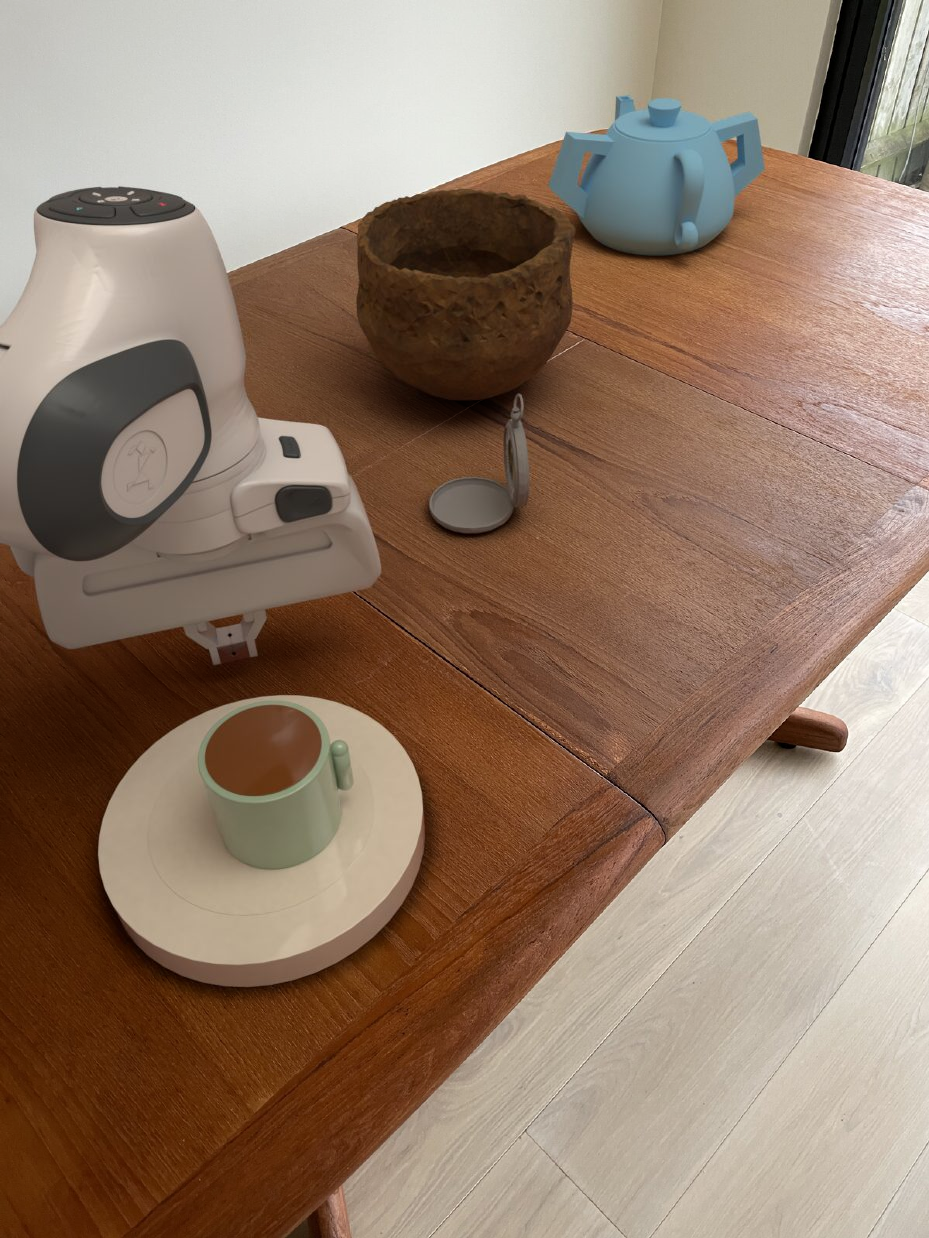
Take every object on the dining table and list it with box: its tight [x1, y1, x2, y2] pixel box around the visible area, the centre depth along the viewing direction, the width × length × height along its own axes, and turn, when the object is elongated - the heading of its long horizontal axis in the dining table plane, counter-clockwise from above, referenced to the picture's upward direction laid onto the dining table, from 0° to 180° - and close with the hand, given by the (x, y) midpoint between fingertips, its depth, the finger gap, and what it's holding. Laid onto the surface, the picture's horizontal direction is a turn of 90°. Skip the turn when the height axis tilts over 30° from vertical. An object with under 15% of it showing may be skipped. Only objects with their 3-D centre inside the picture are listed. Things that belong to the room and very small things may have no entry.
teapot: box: [547, 94, 766, 257], centre depth 113 cm, size 19×19×14 cm
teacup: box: [198, 701, 354, 869], centre depth 55 cm, size 8×7×6 cm
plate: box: [97, 694, 426, 988], centre depth 58 cm, size 18×18×2 cm
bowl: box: [356, 188, 577, 401], centre depth 89 cm, size 19×19×15 cm
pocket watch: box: [428, 393, 531, 534], centre depth 77 cm, size 8×8×10 cm
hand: (234, 654), depth 67 cm, fingers closed
